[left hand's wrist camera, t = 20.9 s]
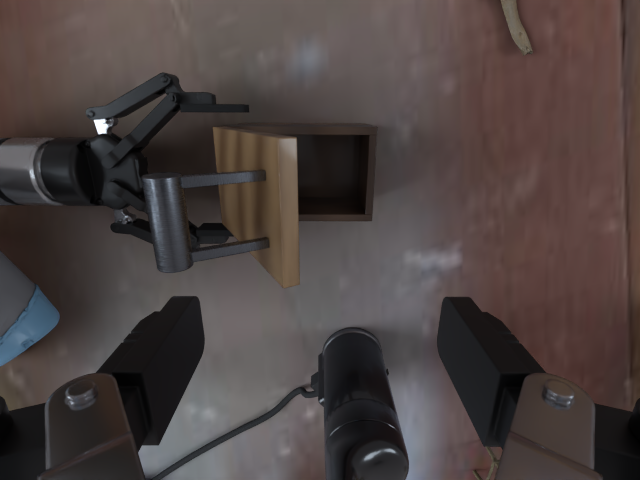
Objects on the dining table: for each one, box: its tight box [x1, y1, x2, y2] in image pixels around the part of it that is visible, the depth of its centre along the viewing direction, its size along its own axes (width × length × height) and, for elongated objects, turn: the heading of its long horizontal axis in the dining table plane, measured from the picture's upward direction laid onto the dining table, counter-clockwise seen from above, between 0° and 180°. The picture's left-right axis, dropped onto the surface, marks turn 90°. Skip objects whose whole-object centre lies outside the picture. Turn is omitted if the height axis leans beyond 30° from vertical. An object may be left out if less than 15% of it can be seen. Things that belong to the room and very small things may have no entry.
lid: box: [142, 127, 300, 288], centre depth 28 cm, size 17×10×9 cm
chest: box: [221, 123, 377, 221], centre depth 41 cm, size 16×10×9 cm, turn 90°
